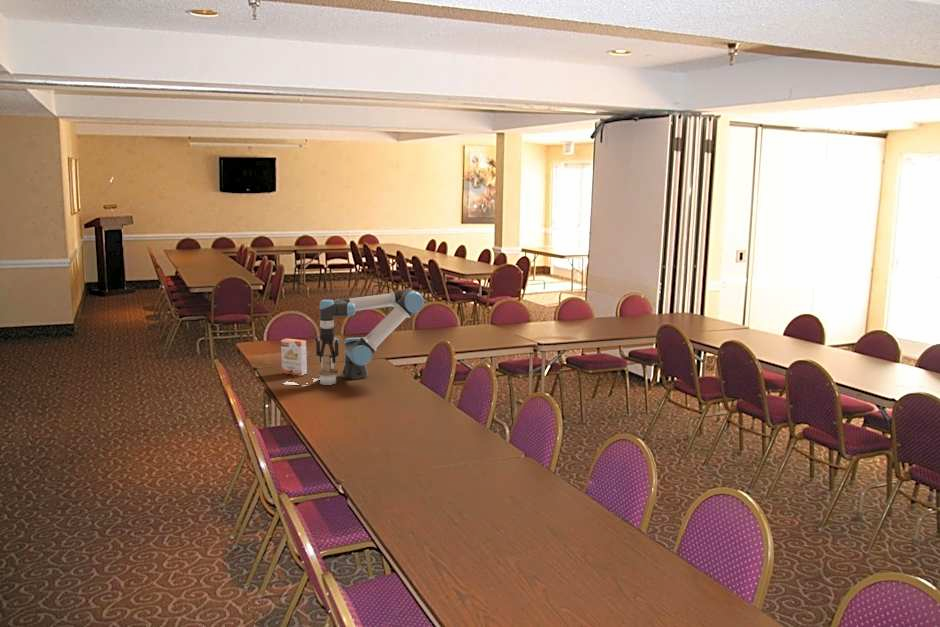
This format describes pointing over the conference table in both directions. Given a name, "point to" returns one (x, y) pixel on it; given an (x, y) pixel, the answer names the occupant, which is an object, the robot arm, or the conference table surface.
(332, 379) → the bowl
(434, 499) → the conference table surface
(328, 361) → the lid
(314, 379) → the mat
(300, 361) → the cracker box
